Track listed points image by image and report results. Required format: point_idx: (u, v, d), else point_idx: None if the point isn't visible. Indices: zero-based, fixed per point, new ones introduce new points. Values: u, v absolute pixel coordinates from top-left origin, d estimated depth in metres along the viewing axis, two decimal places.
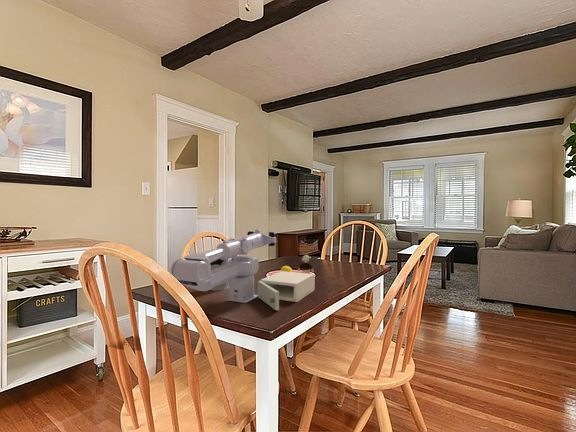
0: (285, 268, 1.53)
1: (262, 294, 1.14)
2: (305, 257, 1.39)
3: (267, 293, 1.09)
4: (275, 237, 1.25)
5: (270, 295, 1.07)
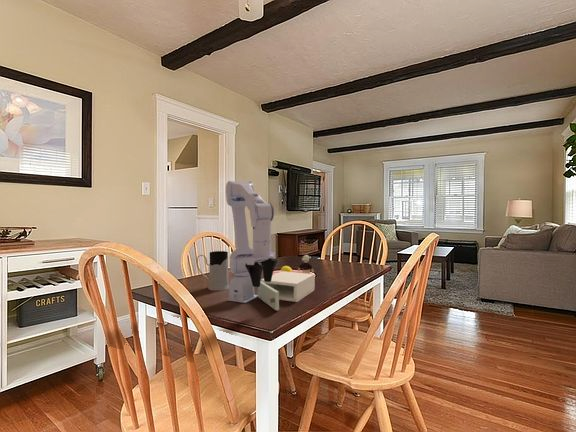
0: (285, 268, 1.53)
1: (262, 294, 1.14)
2: (305, 257, 1.39)
3: (267, 293, 1.09)
4: (252, 263, 0.94)
5: (270, 295, 1.07)
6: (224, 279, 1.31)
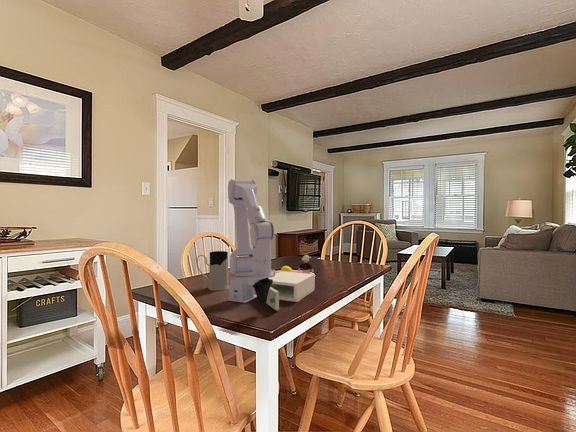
0: (285, 268, 1.53)
1: None
2: (305, 257, 1.39)
3: None
4: (252, 283, 0.94)
5: (270, 295, 1.07)
6: (224, 279, 1.31)
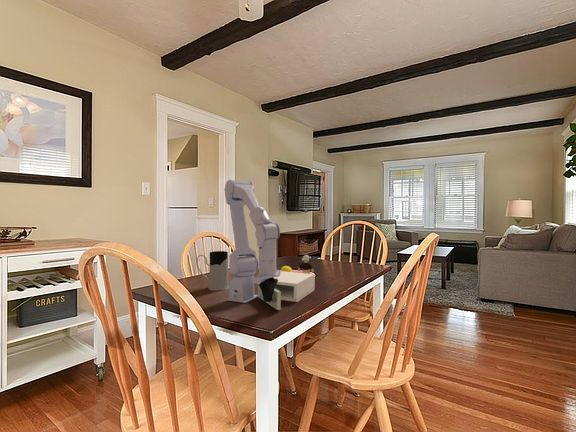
0: (285, 268, 1.53)
1: None
2: (305, 257, 1.39)
3: None
4: (258, 282, 0.97)
5: None
6: (224, 279, 1.31)
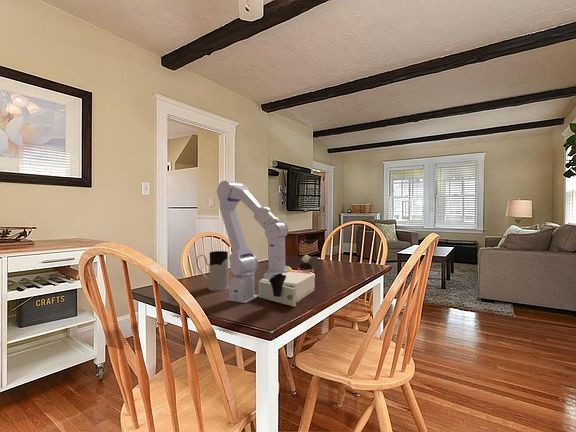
0: None
1: (268, 294, 1.15)
2: (305, 257, 1.39)
3: None
4: (269, 278, 1.03)
5: (284, 292, 1.10)
6: (224, 279, 1.31)
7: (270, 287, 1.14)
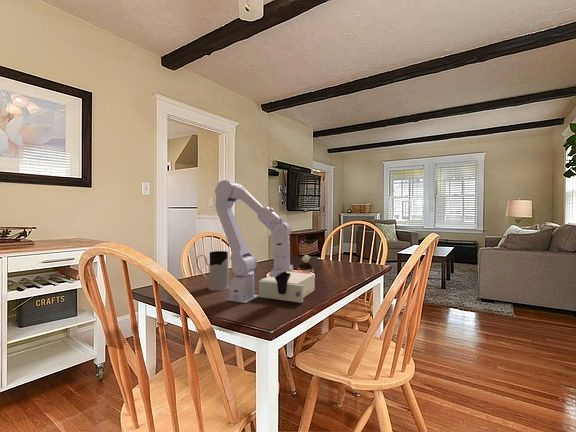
0: None
1: (271, 293, 1.16)
2: (305, 257, 1.39)
3: None
4: (274, 275, 1.06)
5: (290, 290, 1.13)
6: (224, 279, 1.31)
7: (274, 286, 1.16)
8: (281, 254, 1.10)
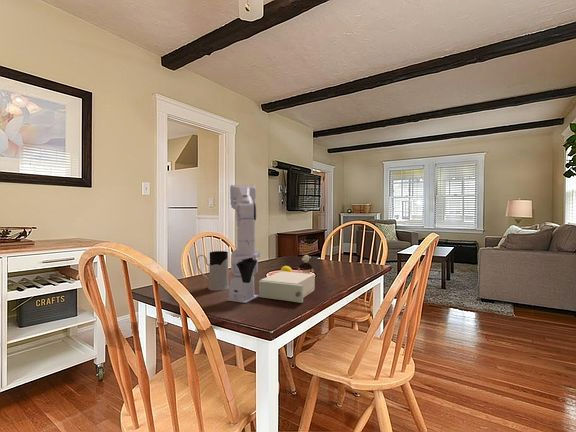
0: (285, 268, 1.53)
1: (271, 293, 1.16)
2: (305, 257, 1.39)
3: (283, 289, 1.14)
4: (236, 262, 0.96)
5: (290, 290, 1.13)
6: (224, 279, 1.31)
7: (274, 286, 1.16)
8: (237, 238, 1.02)
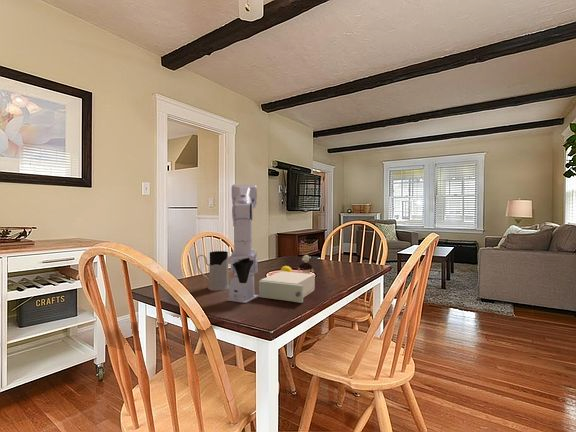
0: (285, 268, 1.53)
1: (271, 293, 1.16)
2: (305, 257, 1.39)
3: (283, 289, 1.14)
4: (232, 262, 0.96)
5: (290, 290, 1.13)
6: (224, 279, 1.31)
7: (274, 286, 1.16)
8: (234, 238, 1.01)
